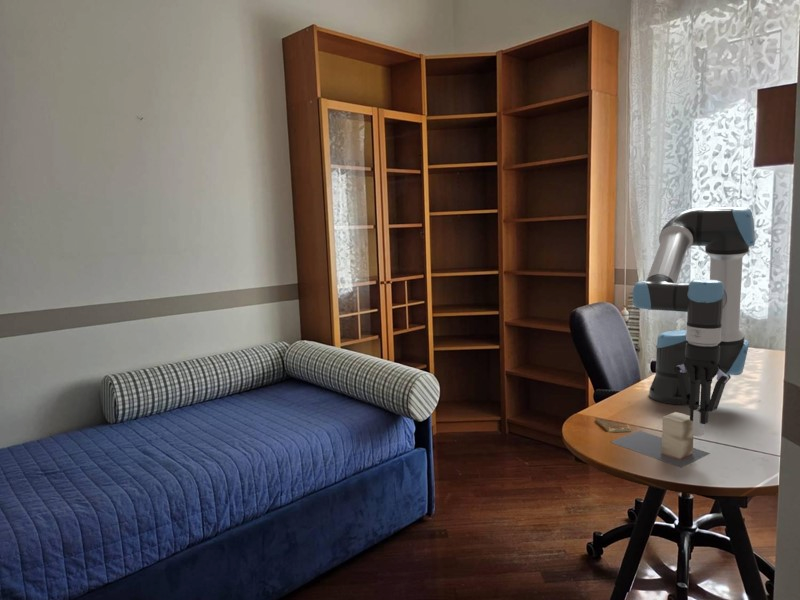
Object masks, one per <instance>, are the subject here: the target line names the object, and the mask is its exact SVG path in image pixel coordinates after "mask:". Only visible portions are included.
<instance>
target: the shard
mask: <svg viewBox="0 0 800 600" xmlns="http://www.w3.org/2000/svg"><path fill="white" fill-rule="evenodd" d="M594 421H595V422H596V424H598V425H600V426H601V427H603V429H604V430H606V431H607V432H608V433H616V432H617V433H619V432H621V433H623V432H631V431H632V428H631V427H630V426H629V424H627V423H623V422H618V421H614V420H611V419H605V418H604V419H602V418H598V417H594Z"/></svg>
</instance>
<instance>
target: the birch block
mask: <svg viewBox="0 0 800 600" xmlns="http://www.w3.org/2000/svg"><path fill="white" fill-rule="evenodd" d="M661 429H662V431H661V432H662V433H661V438H662V450H661V453H662V454H664V455H667V456H670V457H673V458H676V459H679V460H681V459H683V458H685V457H687V456H689V455H691V454H693V448H694V437H695V436H694V435H692V432H693V421H690V414H689V415H688V414H686V413H681V412H678V411H674V412H671V413H669V414H667V415H664V416H662V428H661Z"/></svg>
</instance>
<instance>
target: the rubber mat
mask: <svg viewBox="0 0 800 600" xmlns="http://www.w3.org/2000/svg"><path fill="white" fill-rule="evenodd" d="M610 444H613V445H616V446H619V447H622V448H625V449H627V450H630V451H633V452H636V453H638V454H641V455H645V456H648V457H650V458H653V459H656V460H659V461H662V462H664V463H666V464H670V465H673V466H676V467H679V468H680V469H681V468H684V467H686V466H688V465H689V464H692V463H694V462H696V461H698V460H700V459H703V458H704V457H706V456H708V455H710V454H711V453H710V452H708V451H704V450H701V449H699V448H696V447H693V454H691V455H689V456H687V457H685V458H683V459H681V460H679V459H676V458H673V457H670V456H667V455H664V454H662V453H661V450H662V436H658V435H655V434H652V433H648V432H645V431H642V430H638V431H636V432H632V433H630V434H628V435H625V436H623V437H620V438H618V439H615V440H612V441H610Z"/></svg>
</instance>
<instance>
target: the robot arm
mask: <svg viewBox="0 0 800 600" xmlns="http://www.w3.org/2000/svg"><path fill="white" fill-rule="evenodd" d="M755 231H756V230H755V221H754V215H753V212H752V210H751V209H750V208H749V207H739V206H729V207H728V206H727V207H708V208H707V207H706V208H691V209H690V208H689V209H688V210H684V211H682V212H681V213H678V214H677V215H675V216H674V217H672V218H671V219H670V220H669V221H667V223H665V225H664V226H662V229H661V230H660V233H659V236H658V242H659V245H658V248H657V251H656V253H655V256H654V259H653V262H652V264H651V267H650V270H649V273H648V274H647V278H646V280H643V281H636V282H635V284H634V286H633V288H632V289H633V290H632V304H633V306H634V308H637V309H639V310H640V309H642V310H648V311H667V312H669V311H670V312H671V311H672V312H681V313H682V312H684V313H687V314H686V316H687V318H686V319H687V320H686V329H681V330H680V329H679V330H676V329H675V330H669V331H664V332H661V333H660V334H658V336H657V340H656V346H655V347H656V352H655V353H656V356H655V359H656V360H655V375H654V377H653V380H652V382H651V385H650V387H649V392H648V393H649V394H648V395H649V397H650V398H651V399H652V400H654V401H657V402H661V403H665V404H670V405H679V406H680V405H684V406H687V407H689V416H690V421H693V432H692V435H694V437H698V438H700V437H702V436H704V433H705V425H707V424H708V422H709V413H710V412H713V411H716V410H717V409H718V407H719V405H720V401H721V399H722V395H723V393H724V390H725V386H726V384H727V382H729V380H730V379H731V377H732V376H741V375H742V374H743V372H744V369H745V364H746V359H747V355H748V350H749V347H750V341H749V340H747V339H745V334H744V332H742V331H741V330H740V319H741V318H740V315H741V299H742V297H741V295H742V277H743V276H742V275H743V258H744V256H746V255H747V254H748V253H749V251H750V248H752V247H754V246H755V244H756V237H755V233H756V232H755ZM693 246H694V247H696V246H698V247H704V248H705V251H704V253H705V254H706V255H708V256H709V258H710V259H709V260H710V262H709V263H710V265H709V279H694V280H691V281H689V283H686V282H685V283H684V282H682V283H681V282H678V279H679V276H680V272H681V269H682V266H683V263H684V260H685V258H686V253H687V251H688V250H689V249H690V248H691V247H693ZM715 377H716V380H717V381H716V382H715V385H714V387H713V391H712V383H713V379H714V378H715ZM711 391H712V393H711Z"/></svg>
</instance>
